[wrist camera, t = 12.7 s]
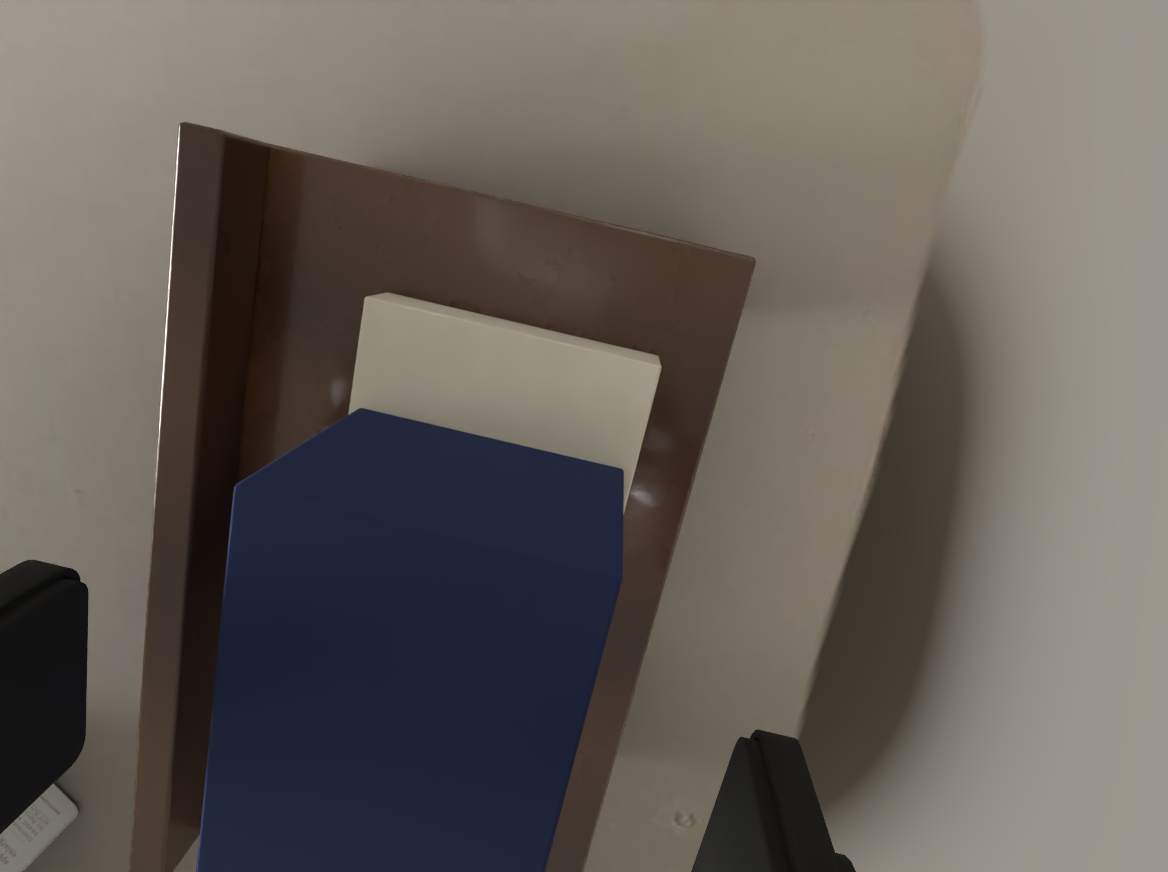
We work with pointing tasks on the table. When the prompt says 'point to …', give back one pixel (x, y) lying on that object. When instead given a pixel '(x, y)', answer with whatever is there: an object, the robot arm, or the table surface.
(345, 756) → the navy stepped block
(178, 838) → the shelf
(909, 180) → the table surface
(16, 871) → the cosmetic box
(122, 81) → the table surface
